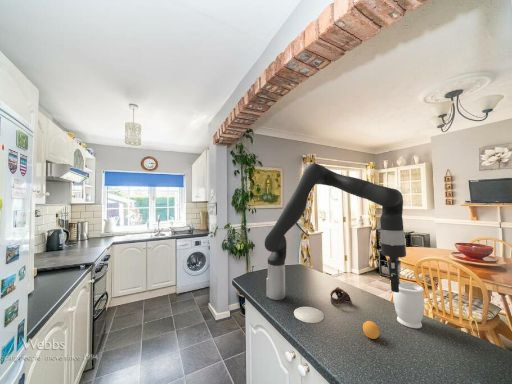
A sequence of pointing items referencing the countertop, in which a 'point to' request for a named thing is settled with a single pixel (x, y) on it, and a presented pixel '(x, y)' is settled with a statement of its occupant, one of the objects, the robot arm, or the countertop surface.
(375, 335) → the ball
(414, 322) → the jar
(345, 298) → the pottery mug
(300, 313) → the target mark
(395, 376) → the countertop surface
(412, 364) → the countertop surface
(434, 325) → the countertop surface
